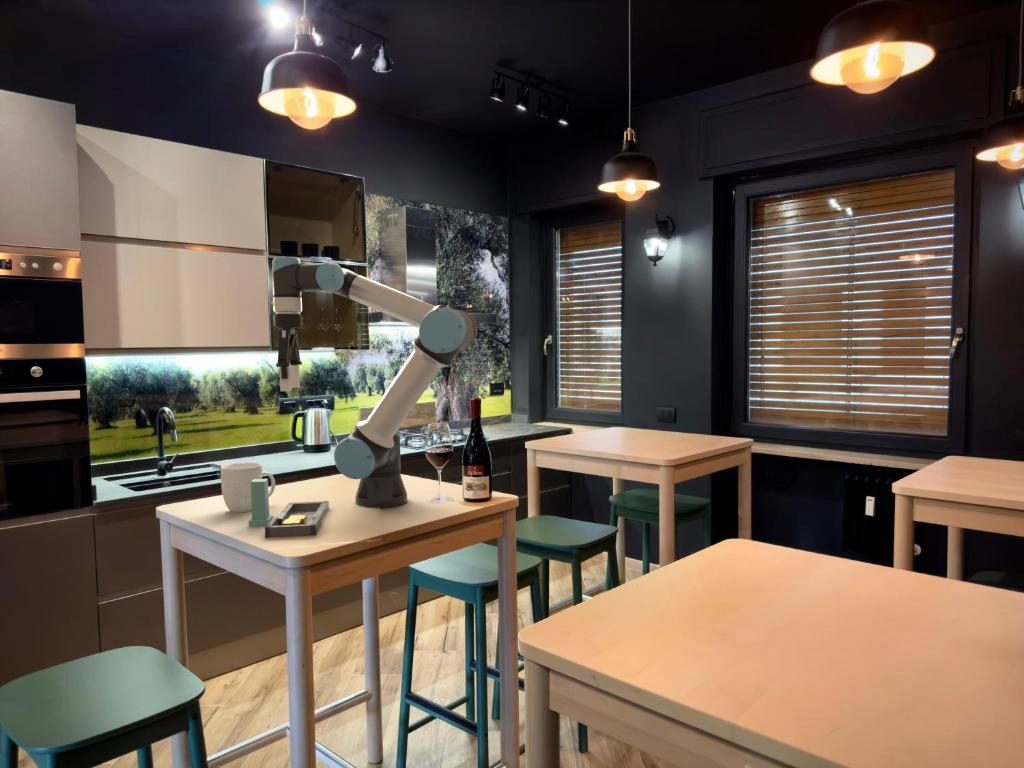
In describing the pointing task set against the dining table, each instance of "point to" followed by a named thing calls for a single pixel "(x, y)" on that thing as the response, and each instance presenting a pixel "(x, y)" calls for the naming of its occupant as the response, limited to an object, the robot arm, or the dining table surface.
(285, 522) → the chip
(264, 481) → the teal t-shaped block
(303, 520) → the chip
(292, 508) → the dark gray shallow tray
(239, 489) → the mug
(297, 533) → the tray
